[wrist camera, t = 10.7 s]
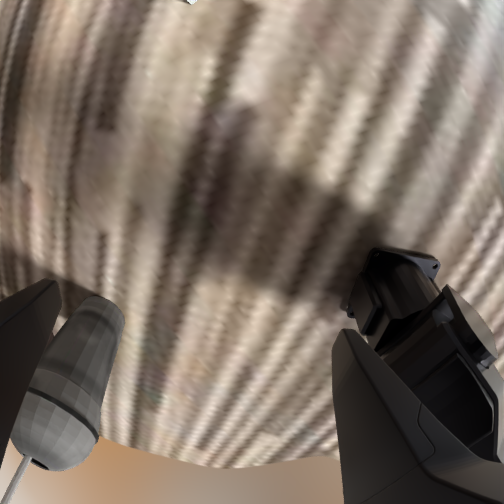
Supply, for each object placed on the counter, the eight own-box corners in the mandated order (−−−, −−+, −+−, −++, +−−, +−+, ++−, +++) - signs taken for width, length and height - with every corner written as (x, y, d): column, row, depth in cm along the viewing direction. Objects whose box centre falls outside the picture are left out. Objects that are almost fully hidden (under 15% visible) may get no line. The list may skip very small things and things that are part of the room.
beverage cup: (96, 347, 29) (28, 521, 12) (55, 292, 26) (-49, 473, 9) (153, 337, 28) (93, 549, 11) (112, 274, 25) (-1, 506, 7)
